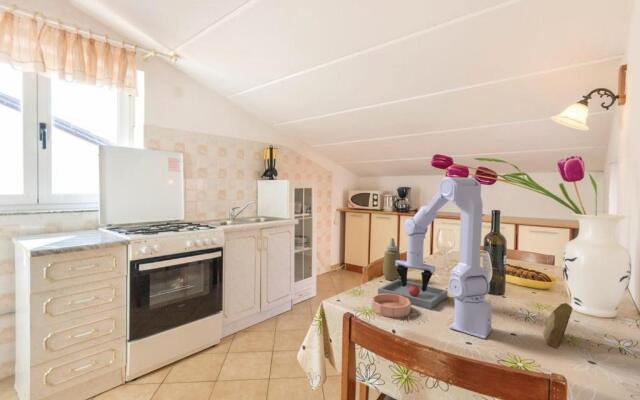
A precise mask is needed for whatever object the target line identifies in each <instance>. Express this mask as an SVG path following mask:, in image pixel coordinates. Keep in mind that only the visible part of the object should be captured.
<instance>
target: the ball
mask: <svg viewBox="0 0 640 400" xmlns="http://www.w3.org/2000/svg"><path fill="white" fill-rule="evenodd" d="M408 291H409V293H410V295H412V296H417V295H419V293H420V289H419V287H418V286H416V285H411V286H410V287H409V289H408Z"/></svg>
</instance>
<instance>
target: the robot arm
mask: <svg viewBox="0 0 640 400" xmlns="http://www.w3.org/2000/svg"><path fill="white" fill-rule="evenodd" d="M481 194H482V184H481V183H480V182H479V181H478V180H477V179H476V178H474V177H454V176H453V177H451V176H445V177H444V178H442V180H441V181H440V183H438V185H437V191H436V194H434V196H433V197H432V199H431V200H430V202H429V203H428V204H427V205H423V206H420V208H419V210H418V211H417V212H416V213H415V215H414V216H413V217H411V218H407V219H405V222H404V224H403V228H404V231H405V234H406V235H407V236H406V237H407V238H406V260H403V259H402V260H401V259H400V260H396V261H395V266H398V268H397V271H398V273H399V275H400V276H399V279H400V280H401V282H402V286H403V287H405V286H406V285H407V281H408V271H409V269H413V270H418V271H422V272H421V273H420V274H421V280H422V283H421V285H422V291H423V292H425V291H426V289H427V286H429V283H430V280H431V278H432V276H433V274H434V273H436V266H434V265H430V264H426V263H424V241H425V239H426V234H427V232H428V226H429V225H430V224H431V223H432V222H433V221H435V219H436V218H437V212H438V211H439V210H441V208H442V207H444V206H445V205H446V204H447V203H448V202H449V201H450V202H451V203H452V204H454V205H456V206H457V208H458V209H460V221H459V242H458V243H459V248H458V263H457V264H456V265H455V266H454V267H453V268H452V270H451V275H450V278H449V281H448V289H449V291H450V293H451V295H452V297H454V309H453V310H454V313H453V315H454V316H453V322H452V323H451V324H450V325H449V326H448V328H449V329H450V330H454V331H458V332H461V333H463V334H464V333H465V334H468V335H471V336H473V337H474V336H475V337H477V338H481V339H487V337H488V335H489V334H490V332H491V331H492V330H493V328H492V318H493V305H492V302H488V301H485V298H486V297H485V296H486V295H488V294H489V292H490V288H491V287H490V285H491V284H490V282H489V277H488V271H487V270H486V269H485V268H484V267H482V266H481V252H482V251H481V249H482V247H481V246H482V228H483V227H482V226H483V225H482V223H483V199H482V196H481Z"/></svg>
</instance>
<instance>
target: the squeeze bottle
mask: <svg viewBox="0 0 640 400" xmlns="http://www.w3.org/2000/svg"><path fill="white" fill-rule="evenodd" d="M398 249H399V248H398V246H396V243H395V238H393V237H392V238H391V239H390V243H389V244H388V245H387V246H386V251H384V254H383V255H384V256H383V262H382V263H383V264H382V273H383V276H384V279H385V280H387V281H391V282H393V281H395V280H397V279H399V280H400V275H399V273H398V271H397V268H398V266H395V261H396V260H401V253H400V252H399V251H398Z"/></svg>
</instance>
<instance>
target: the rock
mask: <svg viewBox="0 0 640 400" xmlns="http://www.w3.org/2000/svg"><path fill="white" fill-rule="evenodd" d="M573 309H574V308H573V307H572V306H571V305H570V304H568V303H567V302H563V303H561V304H559V305H558V306H556V308H555V309H553V311H552V312H551V314H550V315H548V318H547V319H546V321H545V326H544V327H545V328H544V331H543V332H542V334H543V337H544V338H545V340H546V341H547V342H546V343H547V345H549V346H552V347H553V348H558V349H559V348H560V346H561V343H562V342H563V339H564V335H565V333H566V330H567V327H568V324H569V321H570V318H571V315H572V313H573V312H572V311H573Z"/></svg>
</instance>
